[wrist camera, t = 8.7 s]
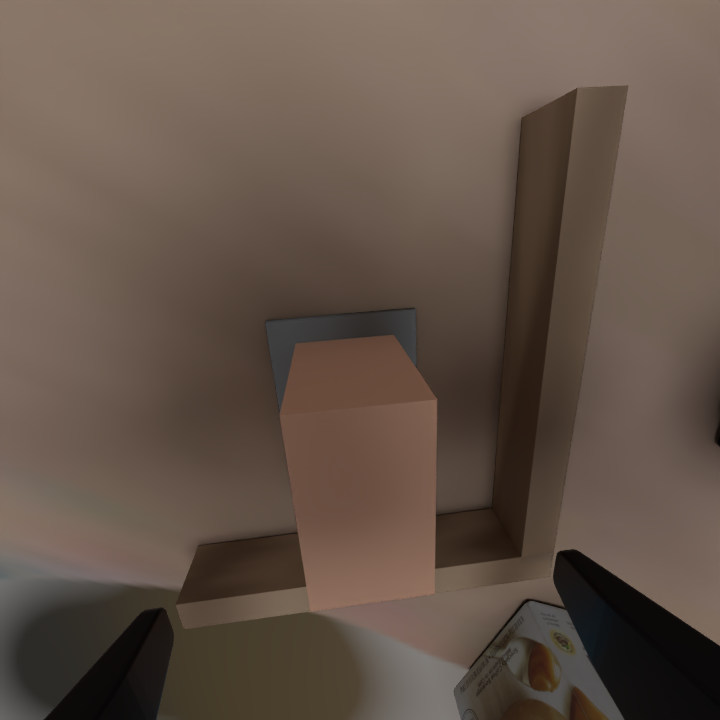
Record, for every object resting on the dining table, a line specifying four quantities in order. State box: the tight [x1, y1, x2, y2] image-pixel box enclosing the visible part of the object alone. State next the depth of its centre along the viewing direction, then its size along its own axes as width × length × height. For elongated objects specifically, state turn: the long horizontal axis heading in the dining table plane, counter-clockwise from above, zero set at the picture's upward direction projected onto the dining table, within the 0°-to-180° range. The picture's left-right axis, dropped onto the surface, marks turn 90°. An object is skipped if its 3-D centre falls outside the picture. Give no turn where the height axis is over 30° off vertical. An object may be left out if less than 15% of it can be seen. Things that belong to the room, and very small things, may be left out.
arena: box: [176, 86, 628, 629], centre depth 14 cm, size 16×19×3 cm
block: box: [280, 335, 437, 612], centre depth 13 cm, size 7×4×6 cm, turn 4°
